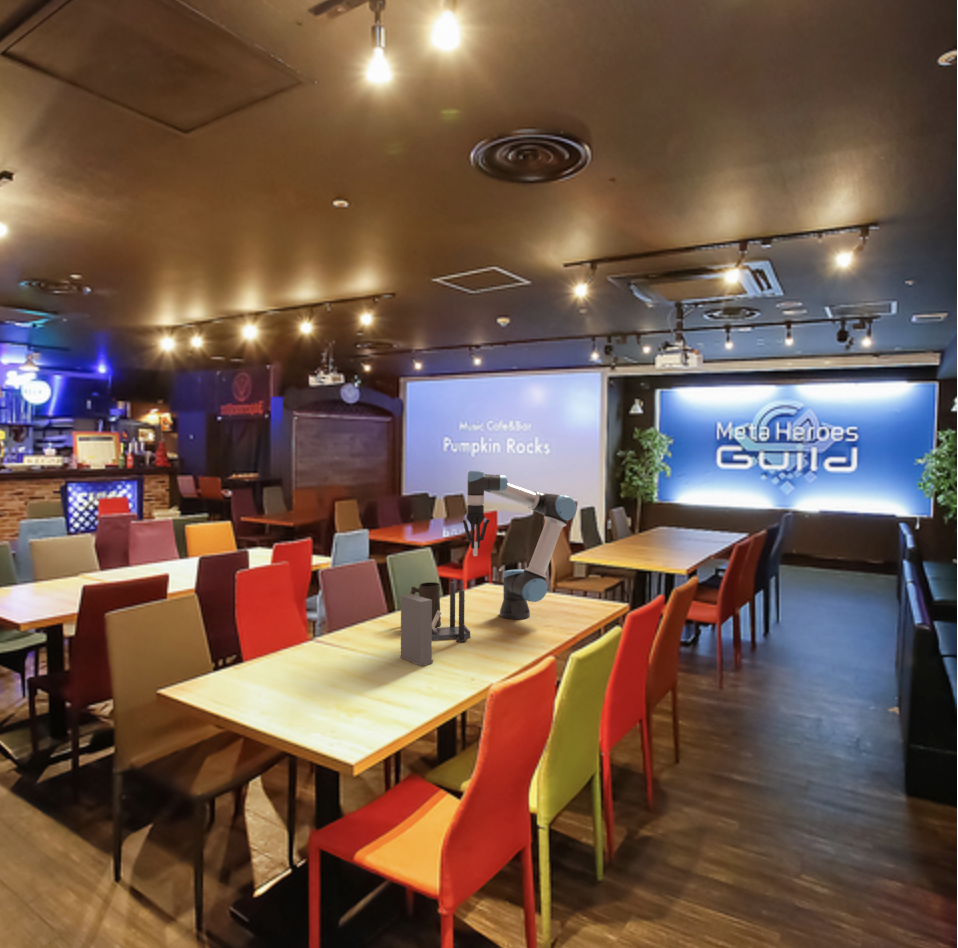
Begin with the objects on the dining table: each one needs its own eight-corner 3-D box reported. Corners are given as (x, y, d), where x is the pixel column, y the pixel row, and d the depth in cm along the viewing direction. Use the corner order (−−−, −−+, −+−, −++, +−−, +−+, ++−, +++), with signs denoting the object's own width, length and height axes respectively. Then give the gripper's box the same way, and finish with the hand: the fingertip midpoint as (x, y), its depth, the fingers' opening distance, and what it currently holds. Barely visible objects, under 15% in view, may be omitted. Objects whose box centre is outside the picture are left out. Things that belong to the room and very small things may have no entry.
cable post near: (465, 639, 283) (465, 589, 282) (467, 642, 279) (467, 591, 278) (455, 640, 282) (455, 589, 281) (457, 642, 278) (457, 592, 277)
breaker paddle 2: (436, 629, 288) (427, 614, 287) (438, 631, 284) (428, 616, 283) (433, 631, 288) (424, 616, 286) (435, 634, 284) (425, 619, 283)
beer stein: (444, 622, 310) (441, 581, 309) (440, 628, 299) (438, 585, 299) (412, 623, 312) (410, 582, 311) (408, 629, 301) (405, 587, 300)
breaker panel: (464, 630, 297) (464, 624, 297) (470, 637, 286) (470, 631, 285) (412, 633, 291) (412, 627, 291) (416, 641, 279) (416, 635, 279)
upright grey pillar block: (433, 663, 251) (433, 599, 250) (420, 666, 247) (421, 602, 246) (412, 654, 261) (413, 593, 260) (400, 657, 257) (400, 595, 256)
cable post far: (456, 628, 300) (456, 581, 300) (458, 630, 296) (458, 583, 295) (446, 628, 299) (447, 581, 298) (448, 631, 295) (449, 583, 294)
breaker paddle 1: (432, 627, 294) (440, 611, 294) (434, 630, 290) (441, 613, 291) (429, 626, 293) (437, 610, 294) (430, 628, 290) (438, 611, 290)
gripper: (487, 503, 301) (486, 553, 302) (459, 503, 298) (459, 554, 299) (491, 504, 294) (491, 556, 295) (463, 505, 291) (463, 557, 292)
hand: (475, 555), depth 297 cm, fingers closed
